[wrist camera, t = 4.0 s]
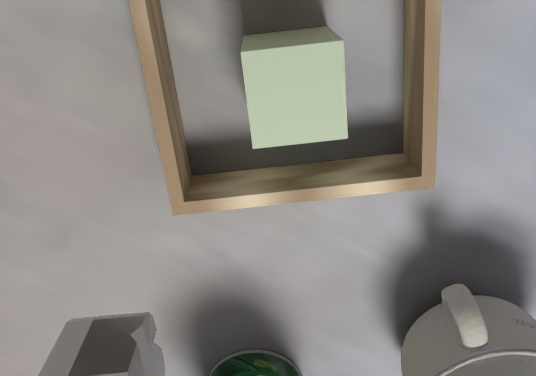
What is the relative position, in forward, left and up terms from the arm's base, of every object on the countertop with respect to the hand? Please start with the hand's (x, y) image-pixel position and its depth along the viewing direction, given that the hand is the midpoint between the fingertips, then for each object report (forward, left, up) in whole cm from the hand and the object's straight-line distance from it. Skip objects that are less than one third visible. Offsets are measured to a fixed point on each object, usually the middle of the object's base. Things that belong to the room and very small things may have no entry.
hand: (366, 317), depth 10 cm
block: (0, 0, -23) cm, 23 cm away
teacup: (-11, +20, -23) cm, 33 cm away
